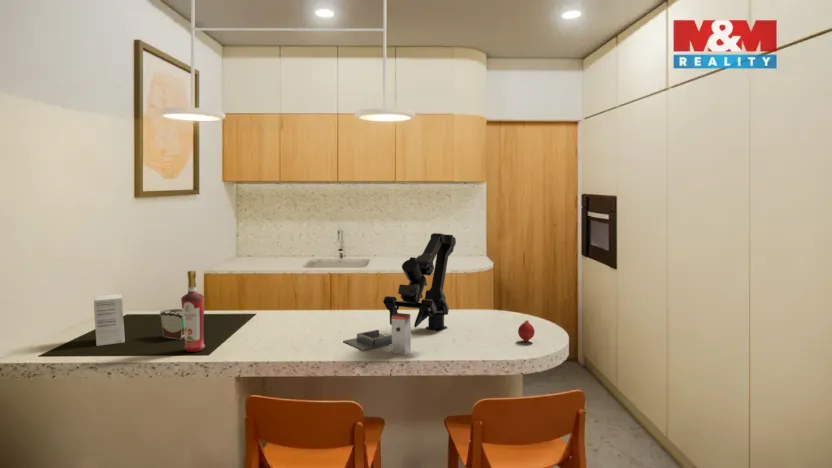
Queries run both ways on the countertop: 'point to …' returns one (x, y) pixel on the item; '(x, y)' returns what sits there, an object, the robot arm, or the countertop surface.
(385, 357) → the countertop surface
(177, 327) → the food container
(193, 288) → the liquor
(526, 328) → the onion
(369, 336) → the plate
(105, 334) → the supplement box
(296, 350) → the countertop surface
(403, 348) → the block
